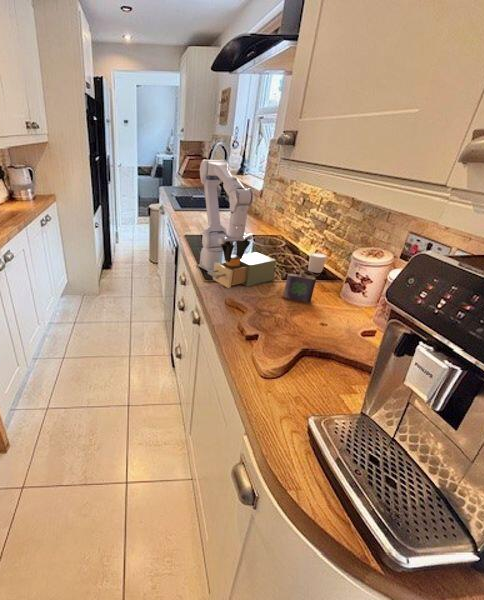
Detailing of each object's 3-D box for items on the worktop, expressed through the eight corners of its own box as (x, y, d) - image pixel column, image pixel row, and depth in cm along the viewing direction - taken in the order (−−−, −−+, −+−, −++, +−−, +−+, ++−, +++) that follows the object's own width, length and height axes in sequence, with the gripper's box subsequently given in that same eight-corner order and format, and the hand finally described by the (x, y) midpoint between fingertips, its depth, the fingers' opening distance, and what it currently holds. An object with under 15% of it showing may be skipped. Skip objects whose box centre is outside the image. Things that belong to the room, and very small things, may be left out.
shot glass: (303, 268, 143) (306, 253, 140) (314, 266, 146) (318, 251, 142) (315, 274, 137) (319, 258, 134) (327, 272, 140) (331, 256, 137)
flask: (282, 298, 116) (288, 270, 111) (283, 295, 118) (289, 267, 113) (310, 303, 112) (317, 275, 108) (310, 300, 115) (318, 272, 110)
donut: (222, 262, 124) (223, 255, 123) (233, 260, 127) (234, 253, 125) (231, 267, 120) (232, 259, 119) (242, 265, 123) (243, 257, 121)
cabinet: (247, 286, 125) (250, 265, 121) (229, 276, 133) (231, 256, 129) (272, 280, 131) (276, 259, 127) (253, 271, 139) (256, 252, 135)
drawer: (218, 290, 119) (220, 273, 116) (203, 281, 126) (204, 264, 123) (253, 282, 126) (255, 265, 123) (236, 273, 134) (239, 258, 131)
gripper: (229, 228, 110) (224, 266, 116) (260, 224, 117) (254, 260, 123) (216, 224, 116) (212, 260, 122) (246, 220, 122) (241, 254, 128)
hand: (232, 260), depth 123 cm, fingers closed on donut, 5 cm apart
